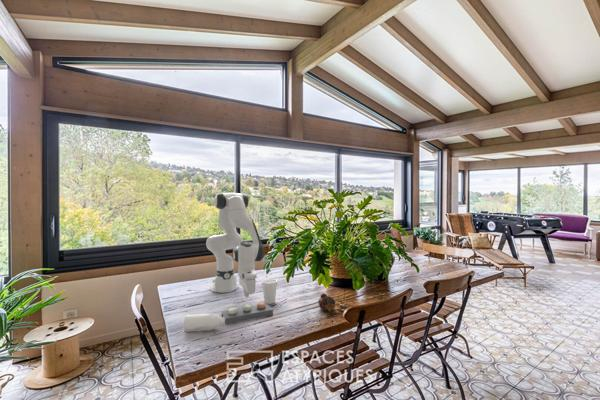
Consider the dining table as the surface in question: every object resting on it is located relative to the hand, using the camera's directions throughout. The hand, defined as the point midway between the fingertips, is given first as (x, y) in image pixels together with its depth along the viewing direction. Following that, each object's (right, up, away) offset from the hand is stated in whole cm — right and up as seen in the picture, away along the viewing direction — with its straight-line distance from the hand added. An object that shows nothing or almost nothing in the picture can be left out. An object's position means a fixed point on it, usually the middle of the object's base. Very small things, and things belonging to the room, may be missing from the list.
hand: (246, 296), depth 156 cm
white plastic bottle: (-18, -11, -15) cm, 26 cm away
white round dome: (-7, -10, -4) cm, 13 cm away
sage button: (0, -10, 0) cm, 10 cm away
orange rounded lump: (+8, -10, +3) cm, 13 cm away
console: (+1, -11, 0) cm, 11 cm away
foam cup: (+11, -10, +20) cm, 25 cm away
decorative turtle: (+45, -10, +7) cm, 47 cm away
